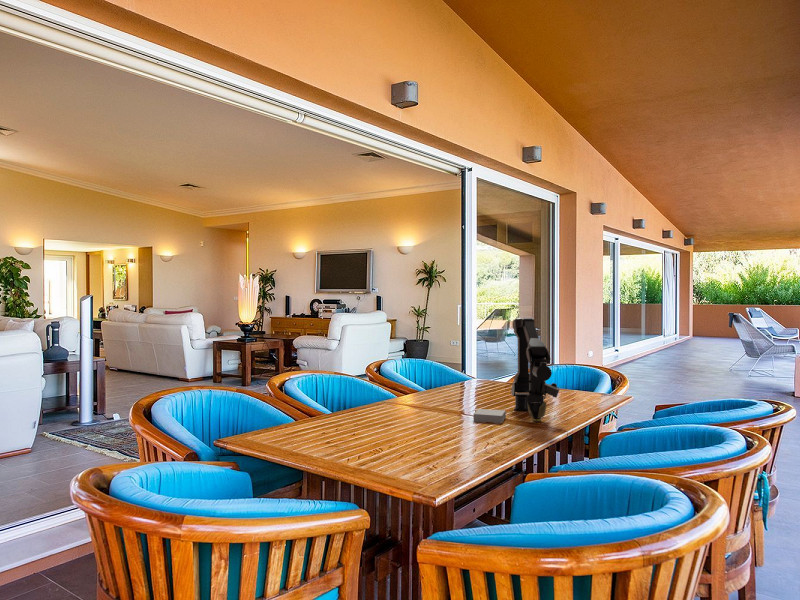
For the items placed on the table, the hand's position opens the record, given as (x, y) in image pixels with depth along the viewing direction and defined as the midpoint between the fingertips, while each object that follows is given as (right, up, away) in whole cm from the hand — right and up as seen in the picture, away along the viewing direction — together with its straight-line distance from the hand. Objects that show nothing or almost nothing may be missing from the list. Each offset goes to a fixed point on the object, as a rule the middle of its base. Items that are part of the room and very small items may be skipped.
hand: (536, 417), depth 223 cm
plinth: (-18, -2, +4) cm, 18 cm away
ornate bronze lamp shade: (0, -2, 0) cm, 2 cm away
